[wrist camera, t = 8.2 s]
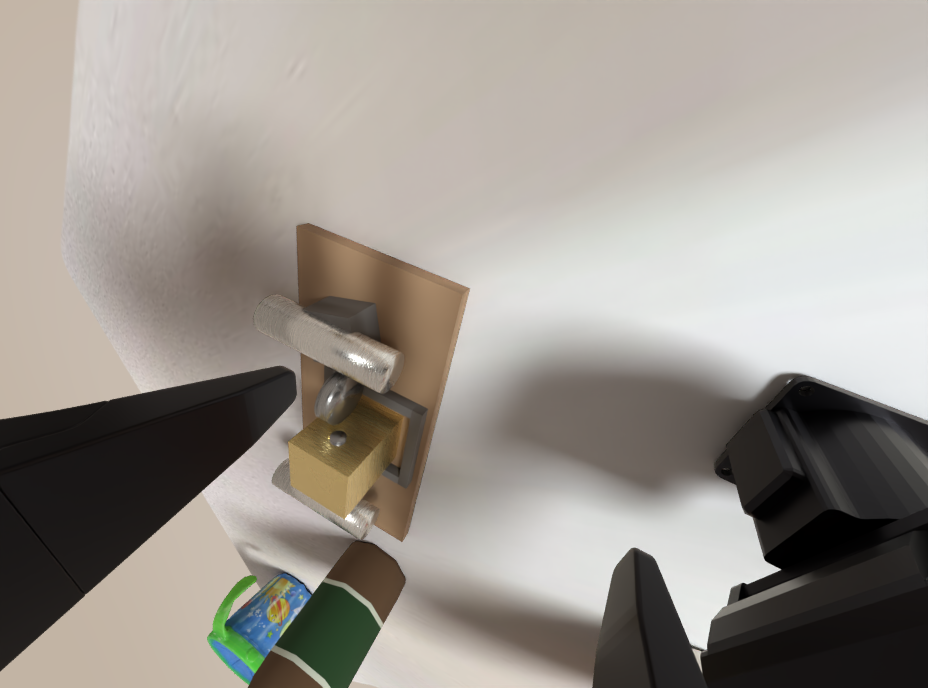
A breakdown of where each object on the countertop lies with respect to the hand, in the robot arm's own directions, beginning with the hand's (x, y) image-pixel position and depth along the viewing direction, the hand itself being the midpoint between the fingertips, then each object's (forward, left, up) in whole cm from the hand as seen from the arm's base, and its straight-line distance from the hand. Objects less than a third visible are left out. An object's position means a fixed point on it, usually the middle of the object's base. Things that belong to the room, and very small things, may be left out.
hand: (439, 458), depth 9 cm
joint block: (+9, +14, -11) cm, 20 cm away
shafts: (+11, +14, -11) cm, 21 cm away
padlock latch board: (+10, +14, -12) cm, 22 cm away
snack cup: (+19, +57, -13) cm, 62 cm away
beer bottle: (+7, +36, -13) cm, 39 cm away
